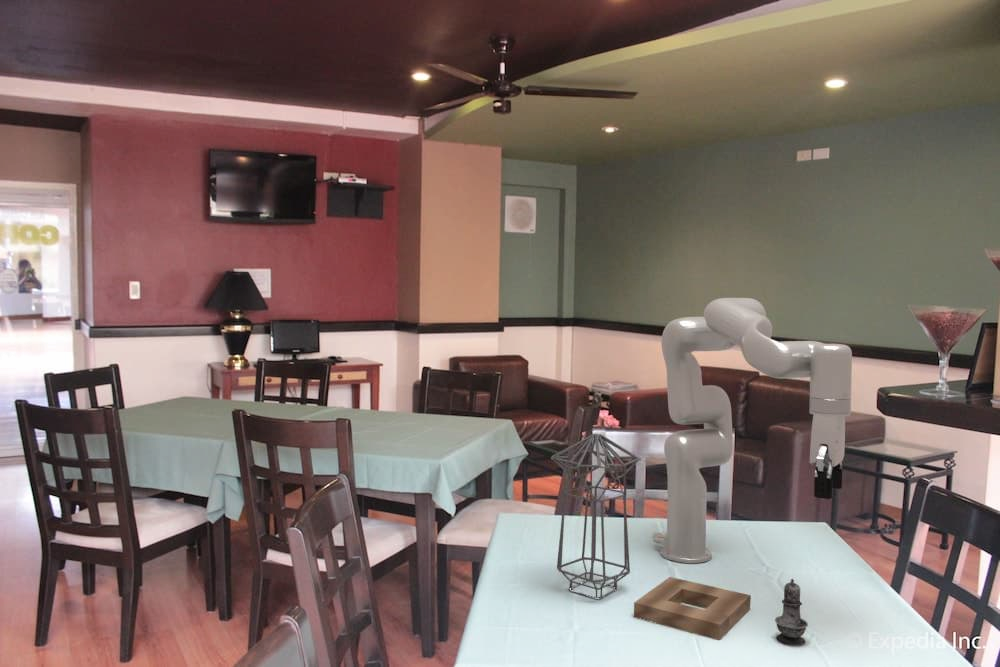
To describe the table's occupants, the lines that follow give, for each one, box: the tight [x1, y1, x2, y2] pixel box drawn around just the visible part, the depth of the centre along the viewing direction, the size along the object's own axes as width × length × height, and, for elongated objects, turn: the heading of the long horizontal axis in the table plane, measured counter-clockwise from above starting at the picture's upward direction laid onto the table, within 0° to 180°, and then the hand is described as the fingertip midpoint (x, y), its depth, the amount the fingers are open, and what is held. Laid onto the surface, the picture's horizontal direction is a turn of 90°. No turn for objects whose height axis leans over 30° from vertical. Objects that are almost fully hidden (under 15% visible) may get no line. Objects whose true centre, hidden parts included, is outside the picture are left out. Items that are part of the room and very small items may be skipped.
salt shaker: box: [774, 578, 809, 647], centre depth 152 cm, size 6×6×12 cm
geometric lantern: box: [550, 433, 642, 599], centre depth 176 cm, size 16×16×35 cm
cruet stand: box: [633, 576, 752, 641], centre depth 164 cm, size 18×18×3 cm
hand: (828, 492), depth 157 cm, fingers open, 9 cm apart
